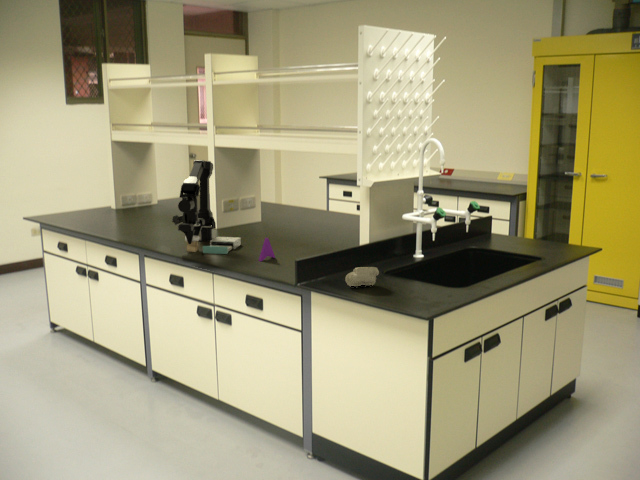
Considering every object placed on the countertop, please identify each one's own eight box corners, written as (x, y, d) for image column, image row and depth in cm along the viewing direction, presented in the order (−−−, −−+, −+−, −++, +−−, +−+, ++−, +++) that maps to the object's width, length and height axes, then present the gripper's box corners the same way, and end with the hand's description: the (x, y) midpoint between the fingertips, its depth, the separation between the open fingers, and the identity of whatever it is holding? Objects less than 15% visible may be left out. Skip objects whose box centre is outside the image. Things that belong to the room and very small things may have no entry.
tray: (210, 248, 286) (210, 241, 285) (233, 249, 284) (233, 242, 283) (202, 252, 276) (202, 246, 276) (227, 254, 274) (227, 247, 274)
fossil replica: (340, 286, 225) (357, 294, 217) (340, 265, 222) (357, 273, 215) (365, 278, 232) (382, 286, 224) (365, 258, 229) (383, 265, 221)
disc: (188, 238, 283) (188, 235, 283) (201, 239, 282) (201, 235, 282) (183, 241, 277) (182, 237, 277) (196, 241, 276) (196, 238, 276)
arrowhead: (265, 268, 266) (276, 250, 270) (268, 269, 265) (279, 251, 269) (254, 256, 259) (265, 237, 263) (256, 256, 258) (268, 237, 262)
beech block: (190, 249, 283) (189, 239, 282) (198, 249, 282) (198, 239, 281) (187, 251, 279) (186, 240, 278) (195, 251, 278) (194, 241, 277)
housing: (217, 243, 296) (216, 236, 295) (240, 244, 294) (240, 237, 293) (210, 248, 286) (210, 240, 286) (234, 249, 284) (234, 241, 284)
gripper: (182, 205, 287) (183, 238, 290) (166, 211, 269) (167, 246, 272) (204, 206, 285) (205, 239, 288) (190, 212, 267) (191, 247, 270)
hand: (192, 242), depth 280 cm, fingers closed on disc, 6 cm apart
